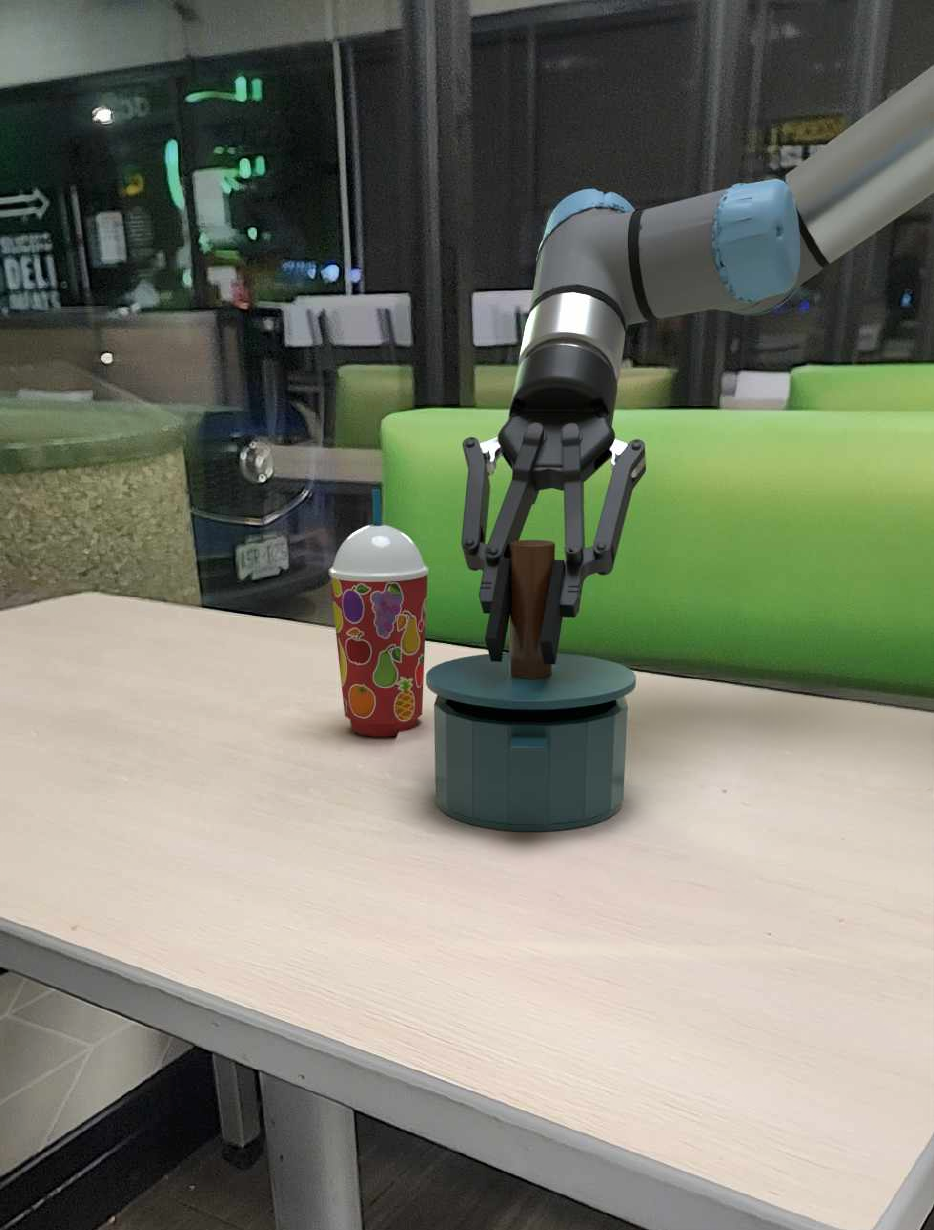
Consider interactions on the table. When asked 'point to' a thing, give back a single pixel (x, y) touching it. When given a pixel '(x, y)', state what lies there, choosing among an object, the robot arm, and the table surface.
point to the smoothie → (380, 627)
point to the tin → (530, 764)
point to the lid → (530, 654)
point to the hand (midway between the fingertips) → (520, 651)
